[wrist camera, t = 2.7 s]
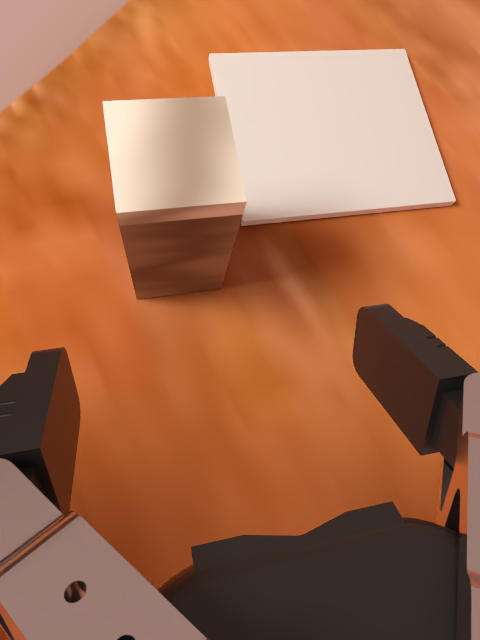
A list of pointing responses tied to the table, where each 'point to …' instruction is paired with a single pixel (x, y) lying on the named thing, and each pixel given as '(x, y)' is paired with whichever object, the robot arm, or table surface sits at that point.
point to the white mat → (329, 134)
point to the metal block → (175, 191)
